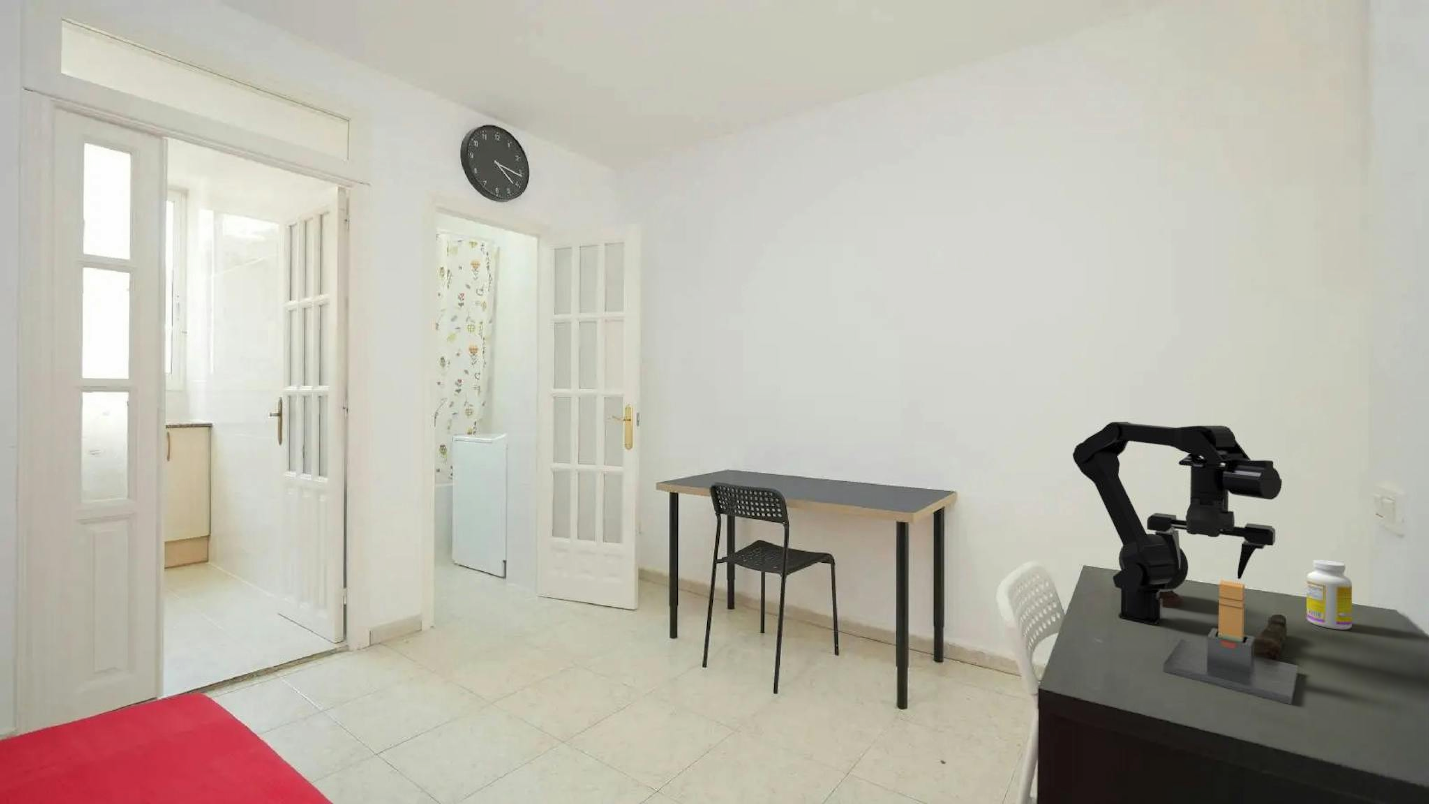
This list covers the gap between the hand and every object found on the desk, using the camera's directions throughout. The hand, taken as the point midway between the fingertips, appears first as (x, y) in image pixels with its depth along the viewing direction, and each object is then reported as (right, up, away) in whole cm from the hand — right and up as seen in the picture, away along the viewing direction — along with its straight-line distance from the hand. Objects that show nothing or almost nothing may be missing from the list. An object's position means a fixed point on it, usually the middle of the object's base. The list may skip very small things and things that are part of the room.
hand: (1207, 573), depth 120 cm
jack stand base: (-7, -13, -13) cm, 20 cm away
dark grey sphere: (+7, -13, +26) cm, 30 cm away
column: (-7, -8, -13) cm, 17 cm away
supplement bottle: (+32, -13, +10) cm, 36 cm away
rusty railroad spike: (+10, -14, -2) cm, 17 cm away
